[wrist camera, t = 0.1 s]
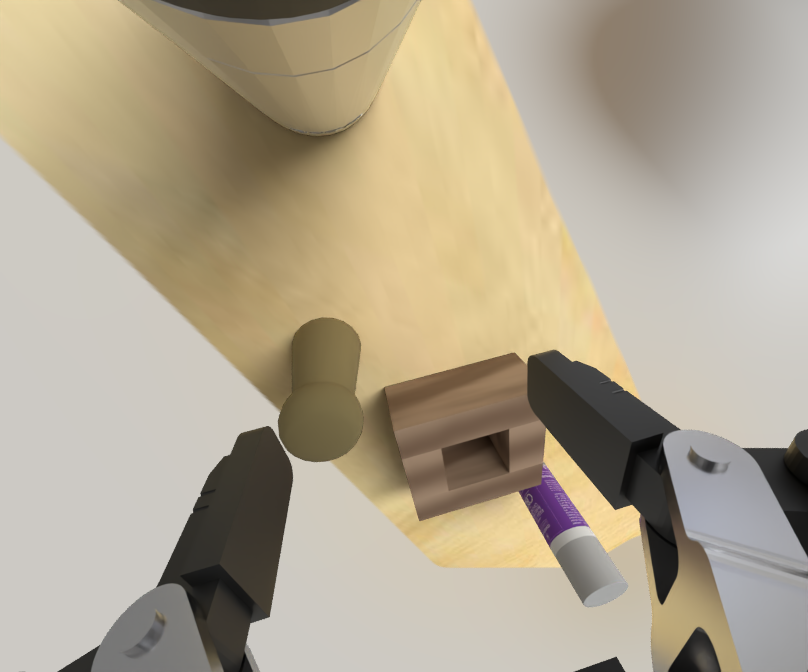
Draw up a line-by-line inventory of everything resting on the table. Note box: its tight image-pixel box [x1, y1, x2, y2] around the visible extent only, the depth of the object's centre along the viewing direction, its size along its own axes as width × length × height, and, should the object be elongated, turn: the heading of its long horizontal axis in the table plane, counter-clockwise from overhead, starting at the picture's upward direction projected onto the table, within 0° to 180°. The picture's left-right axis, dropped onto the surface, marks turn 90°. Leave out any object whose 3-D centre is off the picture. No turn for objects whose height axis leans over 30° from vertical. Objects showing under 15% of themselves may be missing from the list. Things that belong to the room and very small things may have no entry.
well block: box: [385, 353, 546, 521], centre depth 32 cm, size 14×14×6 cm
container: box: [519, 462, 628, 607], centre depth 34 cm, size 5×5×15 cm
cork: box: [278, 318, 363, 462], centre depth 22 cm, size 6×6×11 cm
